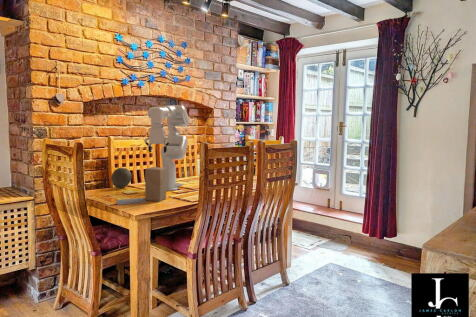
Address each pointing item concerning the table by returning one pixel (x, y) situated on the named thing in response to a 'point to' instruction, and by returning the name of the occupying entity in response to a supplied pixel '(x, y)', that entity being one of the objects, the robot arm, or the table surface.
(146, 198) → the wooden block
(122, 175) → the dark grey ball
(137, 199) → the mat
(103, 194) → the table surface
